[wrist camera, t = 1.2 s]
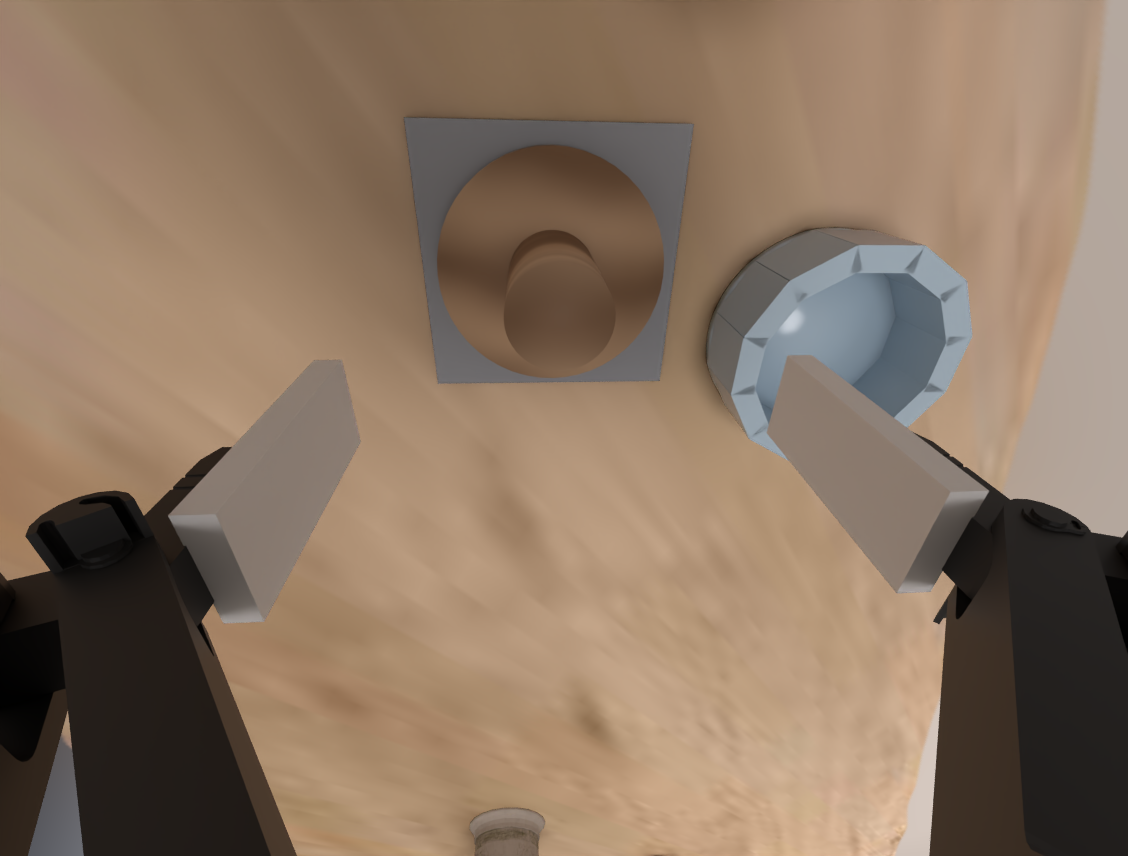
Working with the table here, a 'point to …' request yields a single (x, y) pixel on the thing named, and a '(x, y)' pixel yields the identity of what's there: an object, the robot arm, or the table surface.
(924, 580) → the robot arm
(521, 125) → the mat
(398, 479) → the table surface
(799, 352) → the bowl
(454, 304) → the lid
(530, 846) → the mug
